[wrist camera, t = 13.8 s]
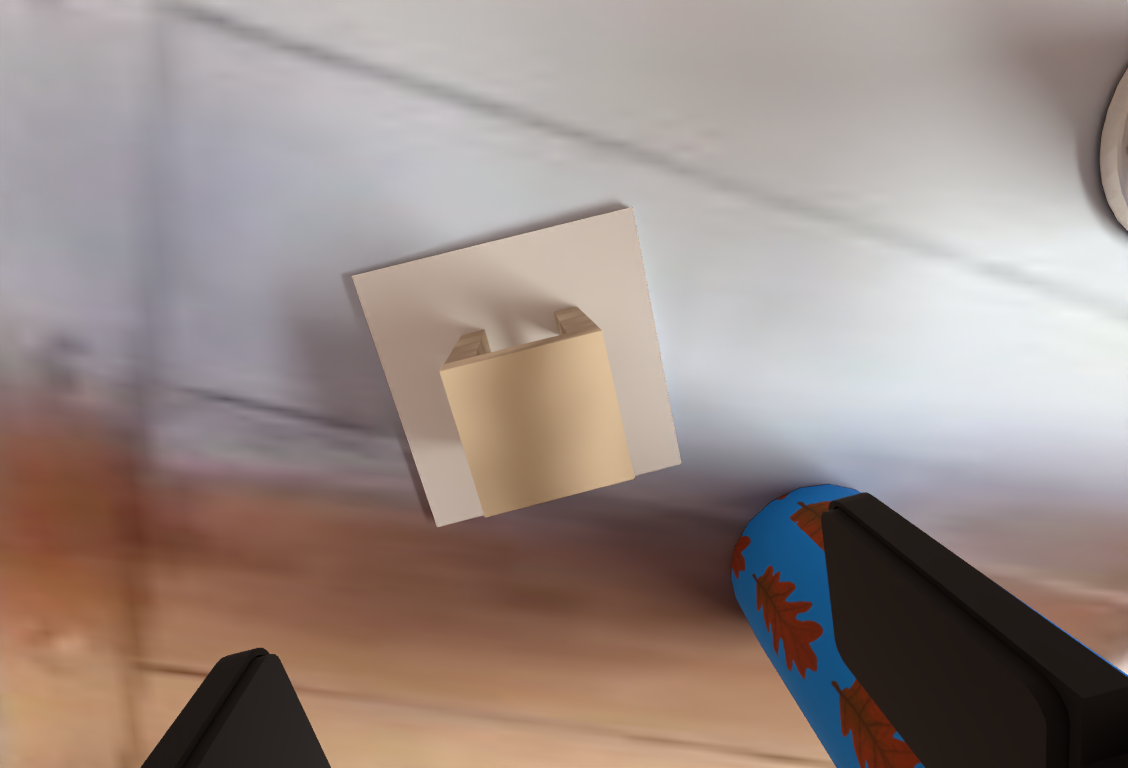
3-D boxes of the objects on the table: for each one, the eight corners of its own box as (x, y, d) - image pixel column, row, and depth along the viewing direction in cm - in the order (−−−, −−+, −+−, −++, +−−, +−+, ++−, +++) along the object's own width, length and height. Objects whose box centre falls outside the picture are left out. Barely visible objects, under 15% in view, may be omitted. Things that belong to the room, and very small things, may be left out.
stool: (576, 306, 27) (602, 330, 19) (601, 415, 28) (634, 478, 20) (461, 335, 26) (439, 371, 19) (493, 443, 28) (485, 517, 20)
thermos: (704, 621, 33) (1226, 1650, 9) (761, 466, 30) (1696, 1295, 6) (857, 646, 34) (1654, 1576, 10) (922, 501, 32) (2155, 1267, 8)
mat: (629, 207, 26) (632, 206, 26) (678, 459, 30) (681, 463, 29) (355, 275, 26) (351, 275, 25) (438, 521, 29) (437, 527, 29)
